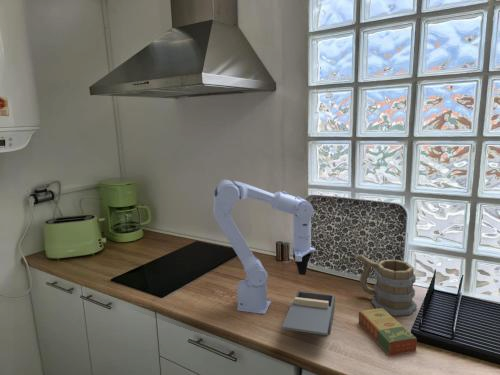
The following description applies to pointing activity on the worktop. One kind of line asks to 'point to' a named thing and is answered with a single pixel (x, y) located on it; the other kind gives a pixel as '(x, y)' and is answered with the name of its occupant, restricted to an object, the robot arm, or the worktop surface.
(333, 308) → the box
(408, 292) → the tankard
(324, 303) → the lid
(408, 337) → the carton
